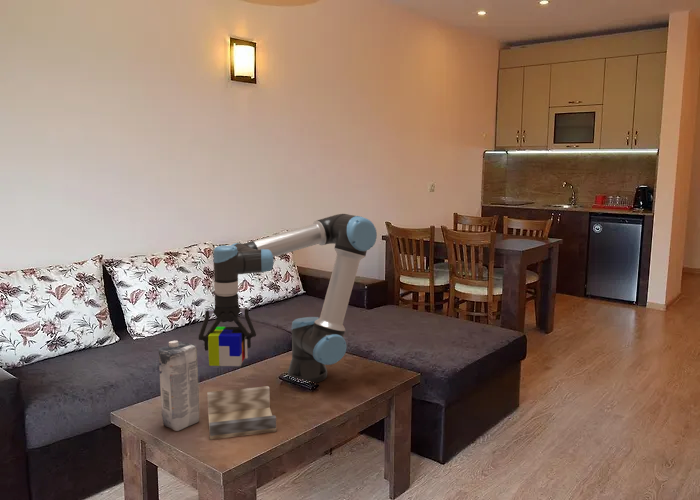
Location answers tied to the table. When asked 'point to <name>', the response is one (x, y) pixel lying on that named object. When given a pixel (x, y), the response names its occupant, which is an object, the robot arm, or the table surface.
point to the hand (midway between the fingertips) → (228, 358)
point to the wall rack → (240, 412)
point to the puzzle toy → (226, 346)
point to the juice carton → (179, 385)
